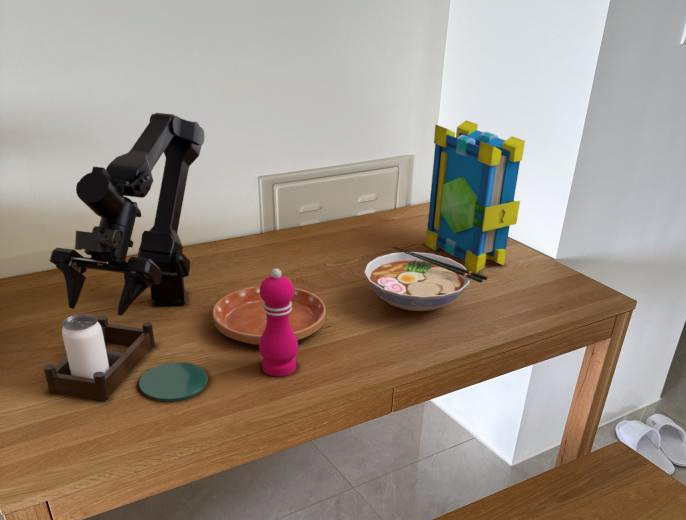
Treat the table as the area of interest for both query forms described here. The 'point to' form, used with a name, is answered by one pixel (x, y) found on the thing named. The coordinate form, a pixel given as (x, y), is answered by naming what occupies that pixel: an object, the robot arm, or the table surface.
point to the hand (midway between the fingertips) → (95, 311)
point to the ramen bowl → (418, 279)
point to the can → (84, 345)
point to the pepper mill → (278, 326)
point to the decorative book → (473, 194)
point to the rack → (118, 362)
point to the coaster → (173, 381)
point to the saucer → (250, 319)
